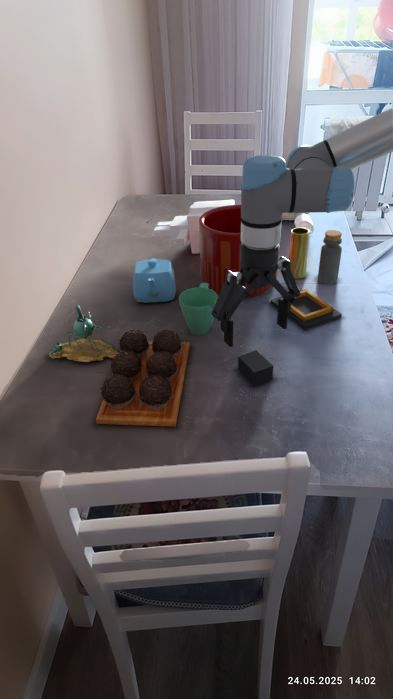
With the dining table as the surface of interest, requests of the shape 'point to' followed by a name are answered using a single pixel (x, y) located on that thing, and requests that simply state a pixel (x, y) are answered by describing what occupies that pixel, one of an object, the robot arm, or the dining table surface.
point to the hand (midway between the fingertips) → (255, 335)
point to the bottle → (330, 257)
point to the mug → (198, 308)
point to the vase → (298, 252)
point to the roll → (304, 222)
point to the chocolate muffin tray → (145, 380)
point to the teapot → (154, 281)
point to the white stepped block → (188, 224)
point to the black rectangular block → (255, 368)
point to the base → (309, 310)
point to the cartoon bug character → (83, 343)
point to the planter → (222, 247)
